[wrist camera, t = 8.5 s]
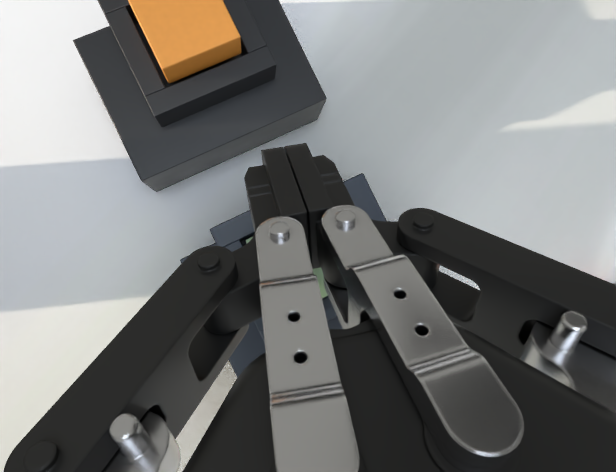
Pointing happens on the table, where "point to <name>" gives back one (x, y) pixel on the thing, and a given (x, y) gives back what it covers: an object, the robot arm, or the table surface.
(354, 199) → the slate blue button base
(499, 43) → the table surface
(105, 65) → the charcoal button base
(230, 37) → the amber key
